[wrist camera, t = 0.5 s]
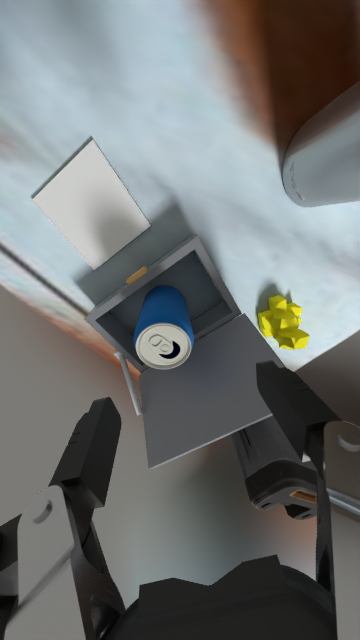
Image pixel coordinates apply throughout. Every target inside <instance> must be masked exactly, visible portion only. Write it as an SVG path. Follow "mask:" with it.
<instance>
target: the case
mask: <svg viewBox="0 0 360 640" xmlns="http://www.w3.org/2000/svg"><path fill="white" fill-rule="evenodd" d="M191 251H194V252H195V254H196V256H197V257H198V259H199V261H200V262H201V264H202V266H203V267H204V269H205V271H206V272H207V274H208V276H209V277H210V279H211V281H212V282H213V284H214V286H215V287H216V289H217V291H218V292H219V294H220V295H221V297H222V299H223V300H224V301H223V302H221V303H219V304H218V305H216V306H214V307H213V308H211V309H210V310H208V311H206V312H205V313H203V314H202V315H200V316H198V317H197V318H195V319H194V320H192V321H190V323H191V327H192V331H193V335H194V342H195V341H196V342H195V343H193V347H192V349H191V352H190V355H189V356H188V358H187V359H186V360H185V361H184V362H183V363H182V364H181V365H179V366H177V367H174V368H171V369H156V368H153V367H152V368H151V367H150V366H148V365H146V364H145V363H144V362H143V361H142V360H141V359H140V358H139V356H138V354H137V352H136V349H135V346H134V340H133V338H134V337H133V336H132V335H131V334H130V333H129V332H128V331H127V330H126V329H125V328H124V327H123V326H122V325H121V324H120V323H119V321H118V320H117V319H116V318H115V317H114V316H113V315H112V314H111V313H110V312H109V310H110V309H112V308H113V307H114V306H116V305H117V304H119V303H120V302H121V301H123V300H124V299H126V298H127V297H128V296H130V295H131V294H133V293H134V292H135V291H137V290H138V289H140V288H141V287H142V286H144V285H145V284H147V283H148V282H149V281H151V280H152V279H154V278H155V277H156V276H158V275H159V274H161V273H162V272H163V271H165V270H166V269H168V268H169V267H170V266H172V265H173V264H175V263H176V262H177V261H179V260H180V259H182V258H183V257H184V256H186V255H187V254H189V253H190V252H191ZM125 282H126V284H125V285H123V286H122V287H121V288H119V289H118V290H117V291H115V292H114V293H113V294H111V295H110V296H108V297H107V298H106V299H104V300H103V301H102V302H100V303H99V304H98V305H96V306H95V307H94V308H93V309H92V310H91V312H90V313H89V314H88V315H87V316H86V317H85V318H84V319H85V320H86V321H87V322H88V323H89V324H90V325H91V326H92V327H93V328H94V329H95V330H96V331H97V332H98V333H99V334H101V335H102V336H103V337H104V338H105V339H106V340H107V341H108V342H109V343H110V344H111V345H112V346H113V347H114V348H115V349H116V350H115V352H114V355H115V356H116V357H117V358H118V359H119V360H120V362H121V365H122V368H123V372H124V375H125V378H126V381H127V384H128V387H129V390H130V393H131V397H132V400H133V403H134V406H135V409H136V412H137V415H139V414H141V413H143V420H144V429H145V439H146V448H147V458H148V467H149V469H153V468H156V467H158V466H160V465H162V464H165V463H167V462H169V461H171V460H173V459H176V458H178V457H180V456H182V455H185V454H187V453H189V452H191V451H194V450H196V449H198V448H200V447H203V446H205V445H207V444H209V443H211V442H214V441H216V440H218V439H221V438H223V437H225V436H227V435H230V434H232V433H234V432H236V431H239V430H241V429H243V428H245V427H247V426H250V425H252V424H254V423H256V422H259V421H261V420H263V419H265V418H268V417H270V416H272V415H273V414H272V413H271V411H270V410H269V408H268V406H267V405H266V403H265V402H264V400H263V398H262V397H261V395H260V393H259V390H258V387H257V377H256V363H258V362H263V361H267V360H272V361H274V363H275V364H276V365H277V366H278V367H279V368H283V367H285V365H284V364H283V363H282V361H281V360H280V359H279V357H278V356H277V355H276V354H275V352H274V351H273V350H272V348H271V347H270V346H269V344H268V343H267V342H266V340H265V339H264V338H263V337H262V335H261V334H260V333H259V331H258V330H257V329H256V327H255V326H254V325H253V323H252V322H251V321H250V320H249V318H248V317H247V316H246V314H245V313H244V314H242V313H241V311H240V310H239V308H238V306H237V304H236V303H235V301H234V299H233V297H232V296H231V294H230V292H229V290H228V289H227V287H226V285H225V283H224V282H223V280H222V278H221V276H220V275H219V273H218V271H217V269H216V268H215V266H214V264H213V262H212V261H211V259H210V257H209V255H208V254H207V252H206V250H205V248H204V247H203V245H202V243H201V241H200V240H199V238H198V236H195V235H192V236H190V237H189V238H187V239H186V240H185V241H183V242H182V243H181V244H179V245H178V246H177V247H175V248H174V249H172V250H171V251H170V252H168V253H167V254H166V255H164V256H163V257H162V258H160V259H159V260H158V261H156V262H155V263H153V264H152V265H151V266H149V267H148V268H146V266H144V267H142V268H141V269H140V270H138V271H137V272H136V273H134V274H133V275H132V276H130V277H129V278H128V279H127V280H126V281H125ZM241 314H242V315H241ZM239 315H240V316H239ZM237 316H239V317H237ZM236 317H237V318H236ZM234 318H235V319H234ZM232 319H234V320H232ZM231 320H232V321H231ZM229 321H230V322H229ZM227 322H229V323H227ZM226 323H227V324H226ZM224 324H225V325H224ZM222 325H223V326H222ZM220 326H222V327H220ZM219 327H220V328H219ZM217 328H218V329H217ZM215 329H217V330H215ZM214 330H215V331H214ZM212 331H213V332H212ZM210 332H212V333H210ZM209 333H210V334H209ZM207 334H208V335H207ZM205 335H206V336H205ZM204 336H205V337H204ZM202 337H203V338H202ZM200 338H201V339H200ZM198 339H200V340H198ZM197 340H198V341H197ZM125 358H126V359H127V360H128V361H129V362H130V363H131V364H132V365H133V366H134V367H135V368H136V369H138V370H139V371H140V372H141V373H142V374H140V375H139V382H140V391H141V401H142V408H141V405H140V402H139V399H138V396H137V393H136V390H135V387H134V384H133V381H132V377H131V374H130V371H129V368H128V365H127V362H126V359H125ZM149 368H150V369H149ZM148 369H149V370H148ZM146 370H147V371H146ZM144 371H145V372H144ZM143 372H144V373H143ZM142 410H143V411H142Z"/></svg>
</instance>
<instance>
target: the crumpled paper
mask: <svg viewBox="0 0 360 640" xmlns="http://www.w3.org/2000/svg"><path fill="white" fill-rule="evenodd" d="M269 305H270V309H269V310H266V311H263V312H260V313H258V320H259V326H260V331H261V333H262V334H263V335H264V336H265V337H269V336H272V335H273V337H274V338H275V339H276V340H277V341H278V343H279V348H285V349H292V350H295V349H300V348H306V345H307V342H308V339H309V335H308V333H306V332H304V331H303V330H300V329H298V326H299V324H300V323H301V318H299V316H300V314H301V313H302V308H301V307H299V306H298V305H296V304H295V303H293V302H291V303H288V304H287V302H286V299H284V298H283V297H281V296H280V295H276V296H273V297H270V298H269Z"/></svg>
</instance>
